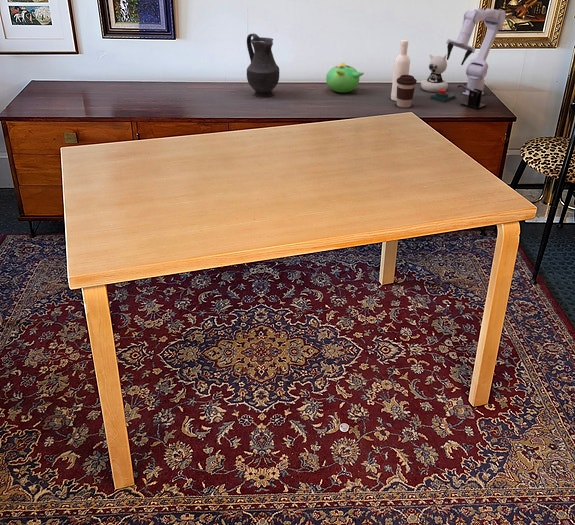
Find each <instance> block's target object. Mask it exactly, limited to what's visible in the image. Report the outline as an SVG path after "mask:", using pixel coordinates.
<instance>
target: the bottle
mask: <svg viewBox="0 0 575 525" xmlns="http://www.w3.org/2000/svg"><path fill="white" fill-rule="evenodd" d="M399 44H400V47H399V54H398V55H397V56H396V57H395V59H394V64H393V74H392V84H391V86H392V87H391V93H390V99H391V101H393V102H397V86H398V83H397V78H400V76H401V75H410V66H411V59H410V57H409V56H408V47H409V40H408V39H401V40H400V43H399Z"/></svg>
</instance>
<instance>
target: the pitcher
mask: <svg viewBox="0 0 575 525" xmlns="http://www.w3.org/2000/svg"><path fill="white" fill-rule="evenodd" d="M273 41H274V38H272V37H264V36H263V37H261V36H259V35H258V34H256V33H254V32H253V33H249V34H248V35H247V37H246V48H247V51H248V56H249V60H250V63H249V65H248V66H247V68H246V81H247V83H248V85H249V86H250V88H251V89H253V91H254V96H256V97H258V98H269V97H272V96H273V90H275V88H276V87H277V85H278V83H279V80H280V66H278V64H277V63H276V60H275V57H274V54H273V50H272V47H273V45H274V42H273Z"/></svg>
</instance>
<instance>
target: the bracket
mask: <svg viewBox="0 0 575 525" xmlns="http://www.w3.org/2000/svg"><path fill="white" fill-rule="evenodd" d="M474 90H476V91H473V90H470V92H469V95H468V97H467V98H468V99H467V101H463V102H461V103H460V106H462V107H466V108H469V109H473V110H477V111H478V110H481V109H484V108H487V104H485V103H481V101H482V95H483V94H482V91H483V92H484V89H483V90H479V89H474ZM477 91H478V92H480V93H479V96H478V92H477ZM477 96H478V97H477Z"/></svg>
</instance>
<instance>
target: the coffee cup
mask: <svg viewBox="0 0 575 525" xmlns="http://www.w3.org/2000/svg"><path fill="white" fill-rule="evenodd" d="M417 82H418V81H417V79H416V78H415V77H414V75H410V74H409V75H401V76H400V78H397V83H398V86H397V101H396V106H397V107H398V108H401V109H402V108H403V109H406V108H411V107H412V103H413V99H414V94H415V88H416V84H417Z"/></svg>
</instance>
